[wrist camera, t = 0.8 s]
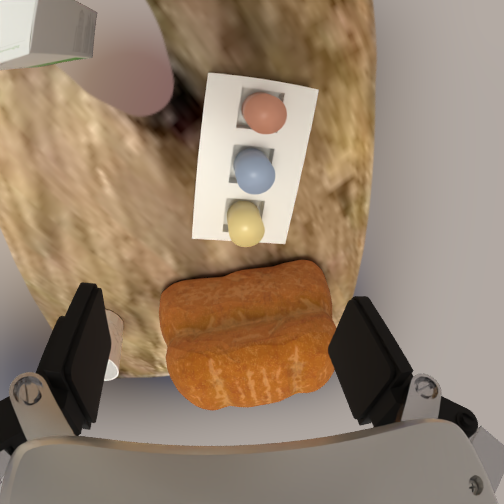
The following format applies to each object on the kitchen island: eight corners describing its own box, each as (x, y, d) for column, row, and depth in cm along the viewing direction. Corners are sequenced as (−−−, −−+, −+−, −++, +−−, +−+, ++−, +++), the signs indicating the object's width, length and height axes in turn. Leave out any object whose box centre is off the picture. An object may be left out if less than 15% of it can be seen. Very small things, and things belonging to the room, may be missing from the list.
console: (208, 72, 30) (208, 72, 27) (309, 87, 32) (318, 89, 30) (192, 225, 41) (192, 238, 38) (279, 230, 43) (284, 243, 40)
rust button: (244, 89, 29) (249, 92, 26) (280, 95, 30) (290, 98, 27) (239, 124, 31) (242, 131, 28) (274, 129, 32) (283, 137, 29)
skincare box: (38, 67, 25) (-42, 81, 12) (42, 20, 21) (-35, 11, 9) (95, 58, 27) (28, 57, 14) (101, 8, 23) (39, -20, 10)
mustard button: (228, 199, 36) (231, 214, 33) (261, 201, 37) (267, 217, 33) (224, 228, 38) (227, 246, 35) (256, 230, 39) (261, 248, 36)
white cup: (81, 303, 46) (66, 348, 37) (124, 307, 47) (114, 354, 39) (90, 334, 50) (78, 377, 42) (129, 338, 51) (122, 383, 43)
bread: (320, 319, 55) (350, 397, 41) (181, 345, 54) (181, 428, 40) (321, 250, 46) (367, 333, 32) (153, 281, 45) (139, 375, 31)
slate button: (235, 146, 33) (239, 156, 29) (271, 150, 33) (278, 160, 30) (231, 179, 35) (234, 192, 31) (265, 182, 35) (271, 196, 32)
